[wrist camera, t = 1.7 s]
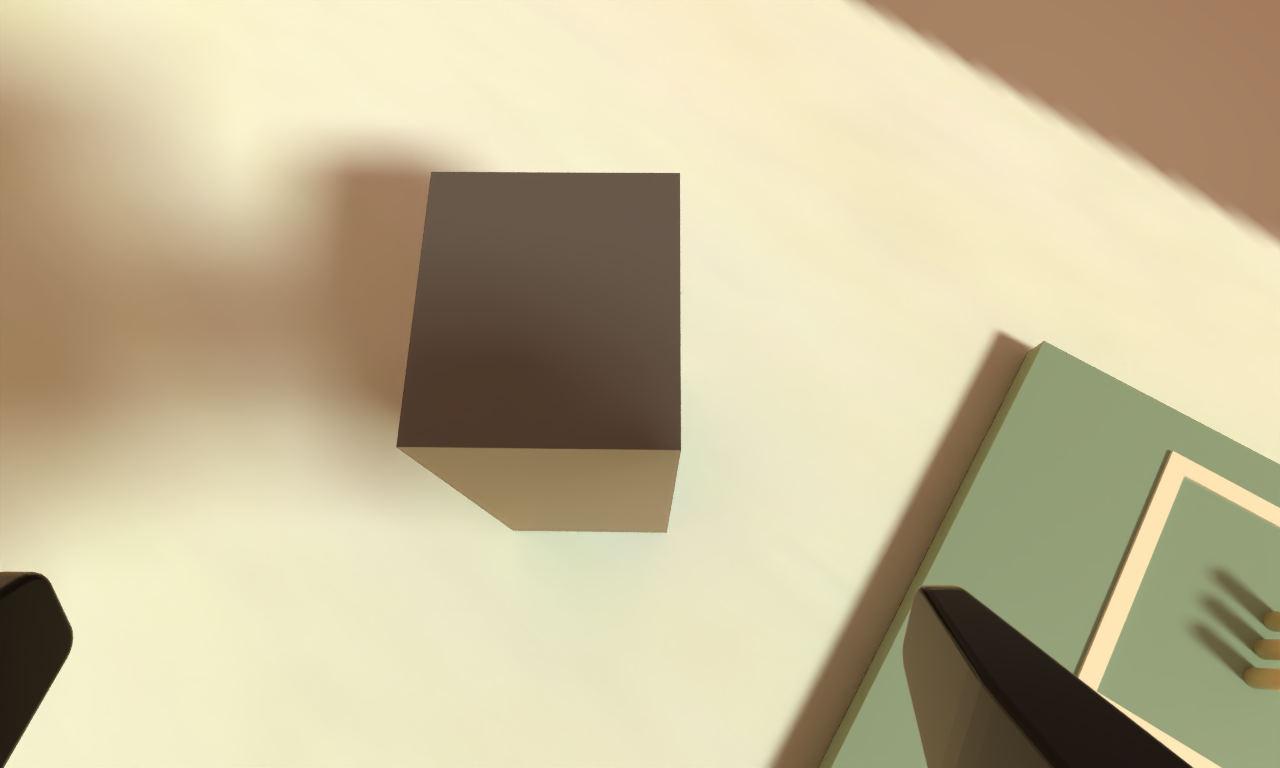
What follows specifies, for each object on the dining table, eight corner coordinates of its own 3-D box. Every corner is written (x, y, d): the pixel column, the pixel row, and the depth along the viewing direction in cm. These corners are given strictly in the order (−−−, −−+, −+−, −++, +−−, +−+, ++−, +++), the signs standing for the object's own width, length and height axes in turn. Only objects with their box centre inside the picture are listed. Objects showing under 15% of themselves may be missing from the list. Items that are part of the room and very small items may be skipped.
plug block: (666, 532, 21) (680, 450, 11) (513, 530, 21) (396, 447, 11) (666, 368, 22) (679, 172, 13) (524, 366, 22) (431, 171, 13)
